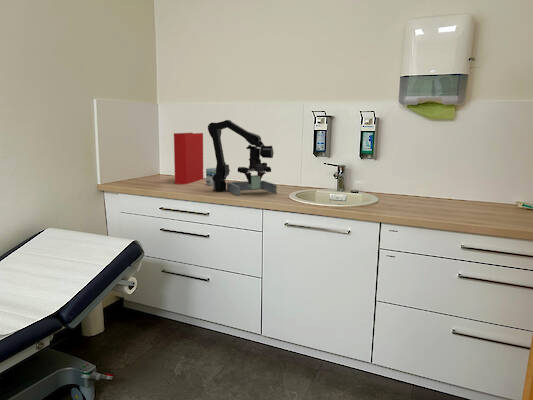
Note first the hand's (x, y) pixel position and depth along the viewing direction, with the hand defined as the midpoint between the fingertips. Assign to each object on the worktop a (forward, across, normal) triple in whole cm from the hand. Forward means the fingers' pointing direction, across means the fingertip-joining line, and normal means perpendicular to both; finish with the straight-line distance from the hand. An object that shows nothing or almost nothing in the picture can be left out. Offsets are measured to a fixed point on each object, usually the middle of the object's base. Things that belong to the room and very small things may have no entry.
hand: (254, 184), depth 224 cm
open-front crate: (+5, 0, +3) cm, 6 cm away
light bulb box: (+5, -11, +36) cm, 38 cm away
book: (+5, -23, +55) cm, 60 cm away
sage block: (+2, 0, 0) cm, 2 cm away
